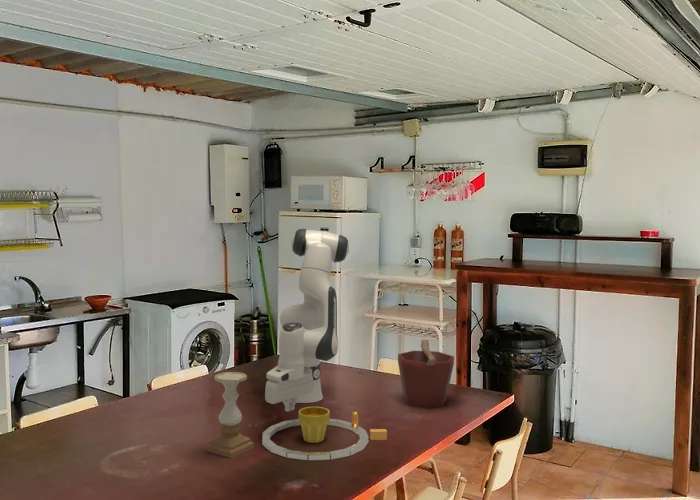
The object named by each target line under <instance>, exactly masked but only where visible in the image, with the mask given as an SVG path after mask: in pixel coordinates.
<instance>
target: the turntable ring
mask: <svg viewBox="0 0 700 500" xmlns="http://www.w3.org/2000/svg"><path fill="white" fill-rule="evenodd" d="M359 413H360V412H359V411H357V410H353V411H352V412H351V422H349V421H346V420H342V419H336V418H330V419H329V422H328V423H327V426H332V427H333V426H334V427H339V428H342V429H346V430H350V431H351V432H353V433H354V434H356V435H358V438H359V439H358V441H357V442H356V443H355V444H353V445H350V446H347V447H345V448H343V449H337V450H331V451H320V452H319V451H316V452H315V451H314V452H311V451H310V452H308V451H300V450H291V449H290V448H289V449H288V448H285V447H283V446H280V445H277V444H276V443H275V442H274V441H273V440H271V437H273V436H274V435H275V434H276V433H277V432H280V431H282V430H284V429H285V430H286V429H288V428H291V427H298V426H301V423H300V422H299V418H294V419H289V420H284V421H281V422H278V423H276V424H273V425H271V426H269V427H268V428H266V429H265V430H264V431H263V432H262V439H261V443H262V444H261V445H262V446H263V447H264V448H265V449H267V451H269V452H270V453H272V454H275V455H278V456H280V457H284V458H287V459H295V460H300V461H330V460H331V461H332V460H337V459H341V458H346V457H347V458H348V457H350V456H353V455H355V454H357V453H359V452H361V451H363V450H364V449H365V448H366V446H367V445H368V443H369V442H370V440H369V439H370V436H369V435H368V432H367V431H366V430H367V429H364V428H363V427H361V425H360V426H359V422H360V421H359V419H360V418H359Z"/></svg>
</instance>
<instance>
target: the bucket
mask: <svg viewBox="0 0 700 500" xmlns="http://www.w3.org/2000/svg"><path fill="white" fill-rule="evenodd" d="M429 344H430V343H429V339H421V342H420V348H421V350H411V351H406V352H401V353H398V354H397V364H398V369H399V371H398V372H399V377H400V382H401V388H402V394H403V399H404V401H405V403H406V404H407V406H411V407H416V408H422V409H432V408H441V407H443V406H444V405H445V404H446V400H447V396H448V393H449V388H450V382H451V378H452V373H453V368H454V364H455V356H454V355H450V354H447V353H444V352H441V351H433V350H432V351H431V349H430V345H429Z"/></svg>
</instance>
